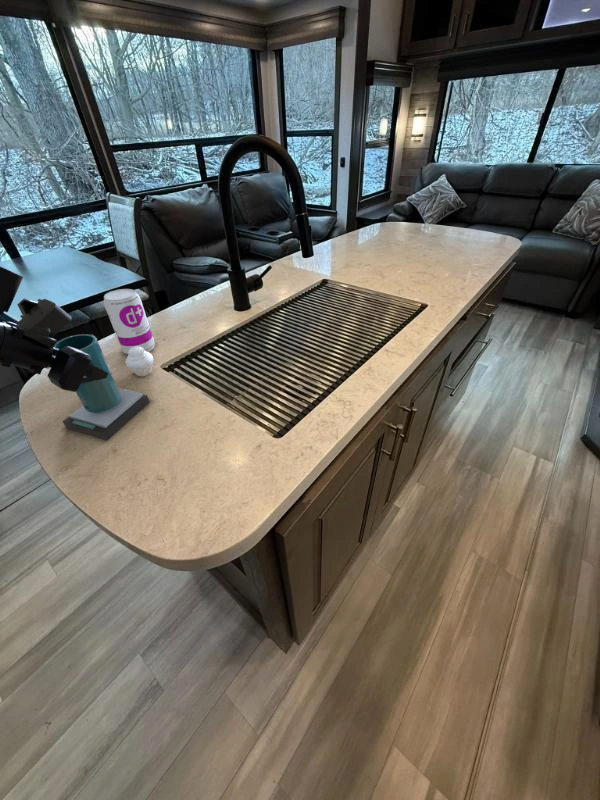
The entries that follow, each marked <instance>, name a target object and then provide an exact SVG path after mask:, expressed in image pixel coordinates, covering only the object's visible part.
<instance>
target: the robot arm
mask: <svg viewBox="0 0 600 800" xmlns="http://www.w3.org/2000/svg"><path fill="white" fill-rule="evenodd" d="M23 279H24V276H22V275H20V274H18V273H16V272H14V271H12V270H9V269H6V268H5V267H4V266H3V267H2V266H0V315H4V313H8V312H10V311H9V310H10V308H11V306H12V303H13V302H14V299H15V297H16V294H17V292H18V290H19V287H20V285H21V283H22V281H23ZM17 307H18V309H19V311H20V313H21V314H20V316H19V317H20V318H21V319H20V320H19V321H18V322H17V323H14V322H12V321H8V320H6V322H5V321H2V322H1V321H0V366H1V367H6V368H10V367H11V366H14V367H17V368H22V369H26V370H27V371H29V372H31V373H32V374H35V375H41V374H42V372H43V370H44V369H47V370H48V369H49V371H48V373H47V378H48V379H49V381H50V383H52V384H53V385H55V386H56V387H57V388H60V389H61V390H63V391H67V392H71V393H75V391H77V390H78V389H79V386H80V384H82V383H86V382H90V381H95V380H100V379H105V378H107V376H108V372H106V371H104V370H102V369H100V368H98V367H96V366H94V365H92V364H90V361H91V356H90V355H88V354H86V353H84V352H82V351H80V350H78V349H75V348H72V347H69V346H66V347H64V348H61V349H59V350H58V349H56V348H54V346H55V344H56V343H57V342H58V341H57V339H55V336H56V335H57V334H58V333H59V332H60V331H61V330H62V329H63V328H64V327H65V326H66V325H69V324H70V323H71V322H72V319H73V317H72V316H71V315H70V314H69V313H68V312H66V311H65V309H63V308H62V307H60V305H58V304H57V303H55V302H54V301H52V300H49V299H46V298H43V299H41V298H38V299H37V301H34V300H31V299H27V298H22V299H21V300H20V301H19V302H18V303H17Z"/></svg>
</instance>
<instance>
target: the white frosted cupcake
mask: <svg viewBox="0 0 600 800" xmlns="http://www.w3.org/2000/svg"><path fill="white" fill-rule="evenodd" d="M124 362H125V363H124V364H125V365H126V367H127V368H128V370H130V371H131V372H132V373H134V374H135V375H136V376H138V377H147V376H149V375H150V374H151V373H152V370H153V366H154V356H153V354H152V353H151V352H150V351H149V352H146V351H145V350H144V349H143V348H142V347H139V346H138V347H137V346H136V347H133V348H131V349H130V350H129V351H128V354H127V357H126V359H125V361H124Z"/></svg>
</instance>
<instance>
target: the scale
mask: <svg viewBox="0 0 600 800" xmlns="http://www.w3.org/2000/svg"><path fill="white" fill-rule="evenodd" d="M118 389H119V391H120V395H121V400H120V402H119V403H118V404H117V405H116V406H115V407H113V408H111V409H109V410H106V411H103V412H98V413H92V412H88V411H86V410H85V409H84V407H83V406H82V405H81V406H80V407H79V408H77V409H76V410H74V411H73V412H72V413H70V414H69V415H68V416H67V418H65V419H64V420H62V423H63V425H64V426H65V428H66V430H70V431H72V432H76V433H79V434H82V435H86V436H90V437H93V438H96V439H100V440H103V441H109V440H110V439H111V438H113V436H114V435H115V434H117V432H119V431H120V430H121V429H122V428H123V427H124V426H125V425H127V424H128V423H129V422H130V421H131V420H132V419H134V418H135V416H137V414H139V413H140V412H141V411H143V409H144V408H146V407H147V406H148V405H149V404H150V403H151V401H150V400H149V397H148V395H147V394H144V393H141V392H137V391H134V390H129V389H125V388H120V387H118Z"/></svg>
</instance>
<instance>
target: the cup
mask: <svg viewBox="0 0 600 800" xmlns="http://www.w3.org/2000/svg"><path fill="white" fill-rule="evenodd" d="M66 346H69V347H72V348H75V349H78V350H80V351H82V352H84V353H86V354H88V355H90V356H91V361H90V364H92V365H94V366H96V367H98V368H100V369H102V370H104V371H106V372H108V376H107V378H105V379H100V380H95V381H90V382H86V383H82V384H80V386H79V389H78V390H77V391H75V392H74V393H75V394H76V396H77V398H78V400H79V402H80V404H81V406H83V407H84V409H85V410H86V411H88V412H92V413H98V412H103V411H106V410H109V409H111V408H113V407H115V406H116V405H117V404H118V403H119V402H120V400H121V395H120V391H119V389H118V388H119V386H118V385H117V382H116V379H115V378H114V376H113V373H112V370H111V368H110V367H109V365H108V362H107V360H106V357H105V355H104V352H103V350H102V347H101V346H100V344H99V341H98V338H97V337H96V336H95V335H93V334H88V333H87V334H85V333H84V334H83V333H82V334H81V333H80V334H75V335H70V336H67V337H64V338H61V339H60V340H58V341H56V344H55V346H54V348H56V349H58V350H59V349H61V348H64V347H66Z"/></svg>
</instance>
